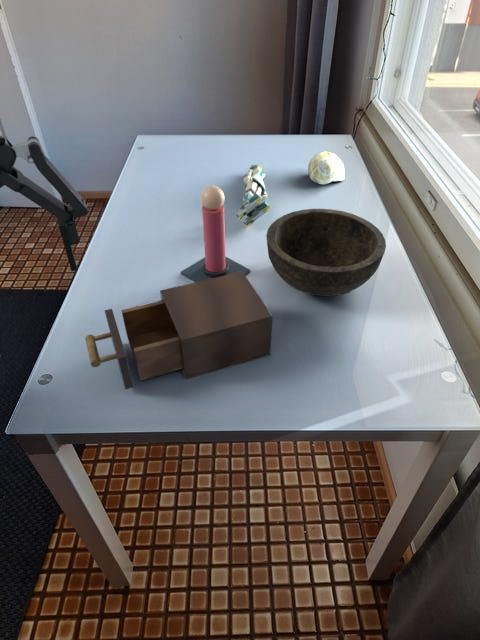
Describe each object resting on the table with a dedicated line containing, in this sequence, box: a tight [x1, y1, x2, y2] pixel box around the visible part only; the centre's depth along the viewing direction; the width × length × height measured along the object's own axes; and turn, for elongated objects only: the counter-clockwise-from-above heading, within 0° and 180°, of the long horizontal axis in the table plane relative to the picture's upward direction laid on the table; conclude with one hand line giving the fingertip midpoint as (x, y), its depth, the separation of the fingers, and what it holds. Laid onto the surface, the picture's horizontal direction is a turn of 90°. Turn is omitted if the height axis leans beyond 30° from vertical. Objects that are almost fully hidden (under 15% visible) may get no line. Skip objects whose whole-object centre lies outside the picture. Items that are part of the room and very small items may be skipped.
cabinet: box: [159, 271, 274, 380], centre depth 78 cm, size 15×13×9 cm
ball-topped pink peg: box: [200, 185, 229, 278], centre depth 89 cm, size 5×5×18 cm
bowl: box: [265, 208, 387, 297], centre depth 90 cm, size 22×22×10 cm
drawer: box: [84, 300, 184, 390], centre depth 75 cm, size 17×11×7 cm, turn 111°
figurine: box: [235, 164, 271, 228], centre depth 117 cm, size 7×8×30 cm
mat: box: [180, 256, 252, 283], centre depth 95 cm, size 10×10×1 cm
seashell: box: [307, 151, 345, 185], centre depth 125 cm, size 10×10×10 cm
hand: (18, 276), depth 60 cm, fingers open, 13 cm apart
